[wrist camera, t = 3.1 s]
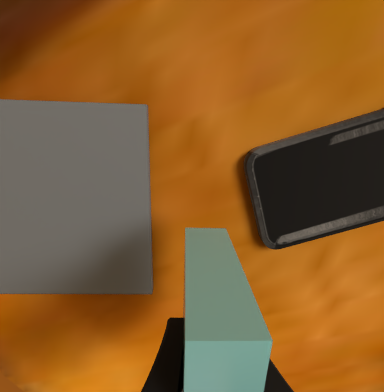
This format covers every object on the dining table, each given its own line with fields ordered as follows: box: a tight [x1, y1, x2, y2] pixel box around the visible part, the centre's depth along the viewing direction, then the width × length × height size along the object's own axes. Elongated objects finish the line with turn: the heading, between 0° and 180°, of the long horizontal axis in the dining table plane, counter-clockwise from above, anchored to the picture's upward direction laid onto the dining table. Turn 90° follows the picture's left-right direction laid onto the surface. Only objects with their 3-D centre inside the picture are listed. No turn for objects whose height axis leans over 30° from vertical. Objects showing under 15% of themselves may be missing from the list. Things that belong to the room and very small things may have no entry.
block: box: [182, 228, 273, 392], centre depth 9 cm, size 8×2×6 cm, turn 178°
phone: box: [244, 109, 384, 249], centre depth 15 cm, size 8×1×15 cm
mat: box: [0, 100, 153, 294], centre depth 15 cm, size 14×12×1 cm
